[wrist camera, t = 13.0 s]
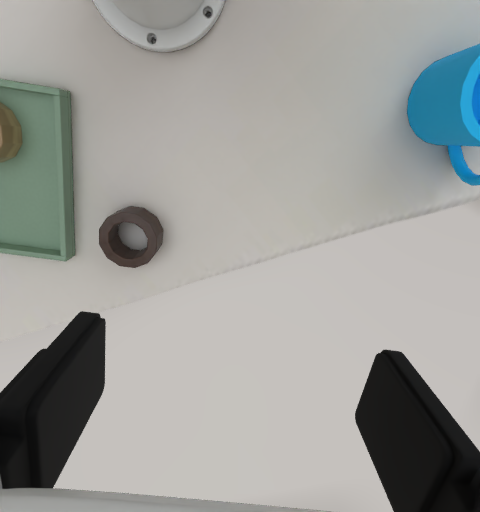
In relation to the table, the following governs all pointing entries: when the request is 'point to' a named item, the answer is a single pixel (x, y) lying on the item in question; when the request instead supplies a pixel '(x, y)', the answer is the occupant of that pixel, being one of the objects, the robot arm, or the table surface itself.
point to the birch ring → (9, 134)
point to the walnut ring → (120, 251)
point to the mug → (449, 107)
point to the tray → (38, 175)
